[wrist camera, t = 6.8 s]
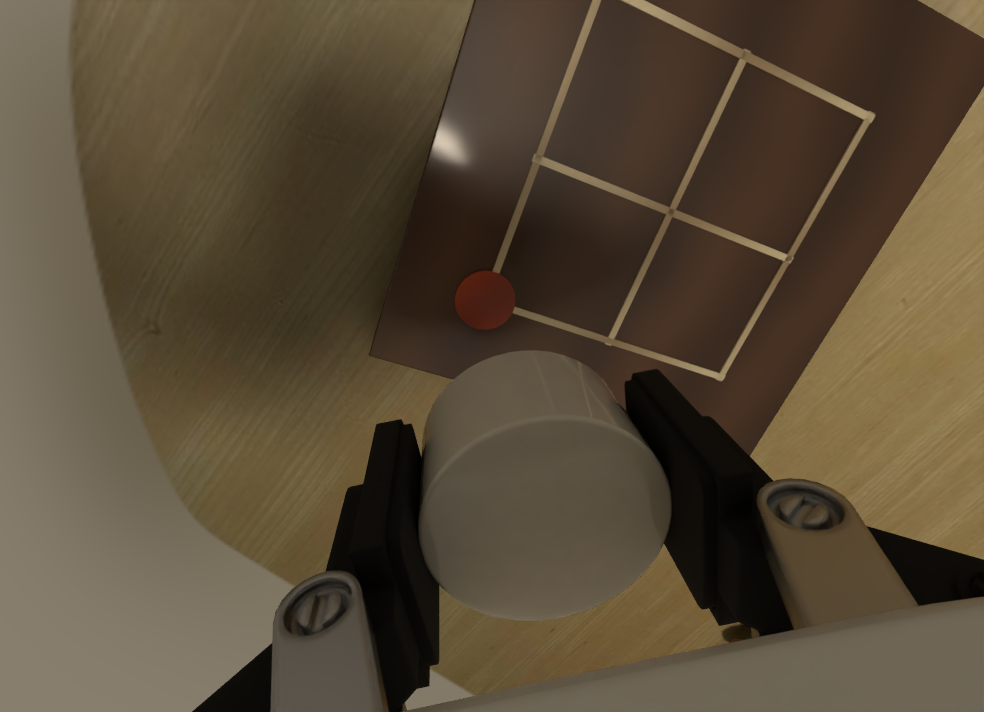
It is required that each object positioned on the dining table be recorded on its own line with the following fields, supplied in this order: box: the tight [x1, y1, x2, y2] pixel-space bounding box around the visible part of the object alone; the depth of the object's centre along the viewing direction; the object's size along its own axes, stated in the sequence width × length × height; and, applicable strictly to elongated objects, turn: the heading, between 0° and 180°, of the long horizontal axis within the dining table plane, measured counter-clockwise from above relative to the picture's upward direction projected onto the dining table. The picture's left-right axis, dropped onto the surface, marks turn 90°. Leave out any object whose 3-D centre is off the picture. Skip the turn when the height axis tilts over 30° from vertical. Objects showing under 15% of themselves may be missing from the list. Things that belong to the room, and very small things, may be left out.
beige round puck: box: [418, 350, 672, 621], centre depth 11 cm, size 5×5×3 cm
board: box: [369, 0, 984, 456], centre depth 22 cm, size 20×20×2 cm
